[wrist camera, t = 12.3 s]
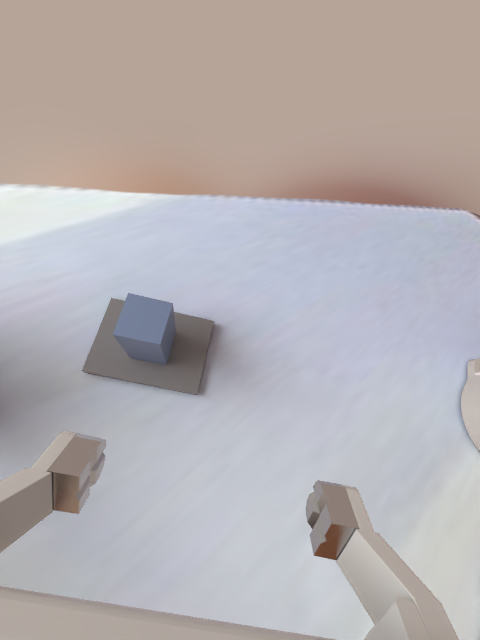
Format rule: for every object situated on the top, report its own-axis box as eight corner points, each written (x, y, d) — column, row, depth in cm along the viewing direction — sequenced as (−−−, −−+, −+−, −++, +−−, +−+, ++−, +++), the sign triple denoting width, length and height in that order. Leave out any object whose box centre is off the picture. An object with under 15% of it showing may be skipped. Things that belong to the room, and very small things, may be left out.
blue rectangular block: (176, 332, 38) (172, 303, 29) (166, 365, 36) (160, 344, 28) (141, 324, 37) (128, 293, 29) (129, 357, 35) (112, 334, 27)
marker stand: (213, 323, 40) (219, 296, 32) (197, 395, 36) (199, 383, 28) (113, 301, 39) (94, 267, 31) (84, 372, 35) (55, 354, 27)
